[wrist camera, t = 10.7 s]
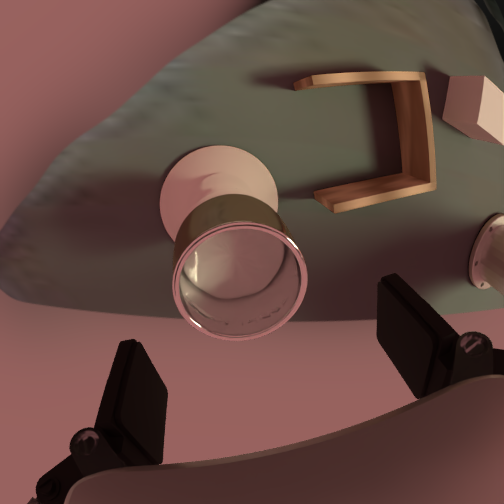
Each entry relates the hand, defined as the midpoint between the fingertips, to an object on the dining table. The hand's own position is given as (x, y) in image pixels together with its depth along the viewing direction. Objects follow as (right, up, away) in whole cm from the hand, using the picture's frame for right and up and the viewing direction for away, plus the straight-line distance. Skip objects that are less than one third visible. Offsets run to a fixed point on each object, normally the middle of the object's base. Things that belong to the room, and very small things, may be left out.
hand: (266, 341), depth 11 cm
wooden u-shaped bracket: (+10, +15, +17) cm, 25 cm away
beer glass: (-3, +8, +17) cm, 19 cm away
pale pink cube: (+25, +21, +17) cm, 37 cm away
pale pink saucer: (-4, +8, +17) cm, 19 cm away
